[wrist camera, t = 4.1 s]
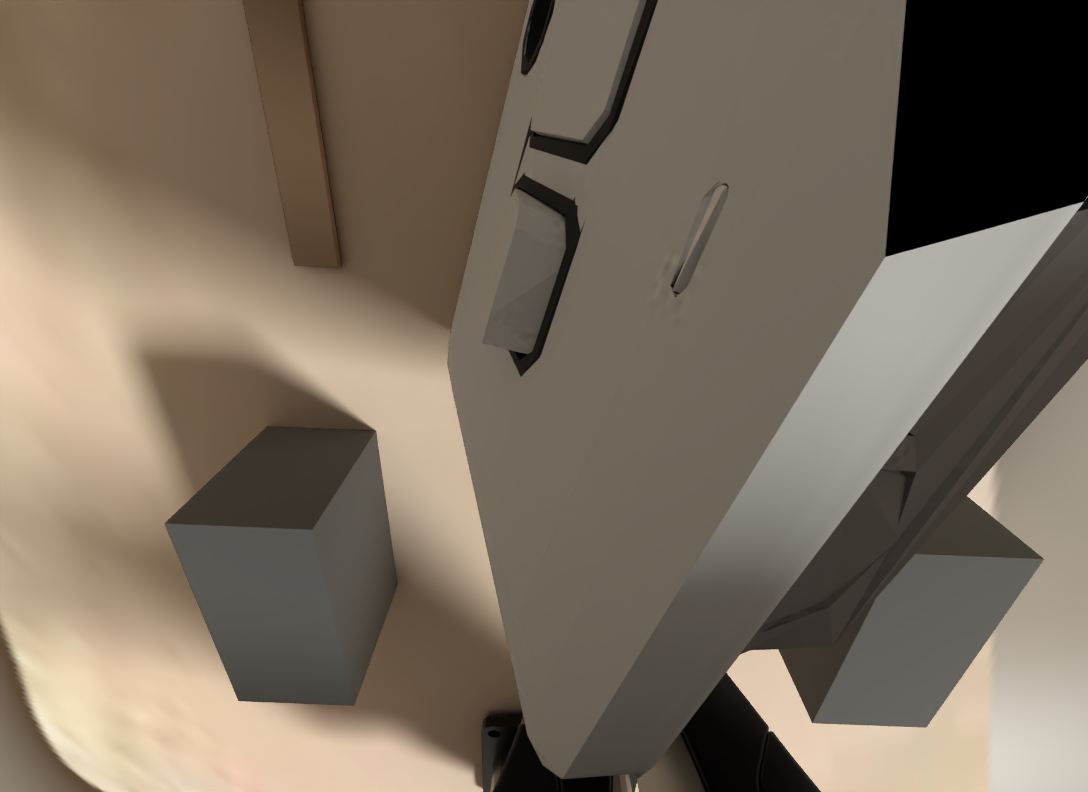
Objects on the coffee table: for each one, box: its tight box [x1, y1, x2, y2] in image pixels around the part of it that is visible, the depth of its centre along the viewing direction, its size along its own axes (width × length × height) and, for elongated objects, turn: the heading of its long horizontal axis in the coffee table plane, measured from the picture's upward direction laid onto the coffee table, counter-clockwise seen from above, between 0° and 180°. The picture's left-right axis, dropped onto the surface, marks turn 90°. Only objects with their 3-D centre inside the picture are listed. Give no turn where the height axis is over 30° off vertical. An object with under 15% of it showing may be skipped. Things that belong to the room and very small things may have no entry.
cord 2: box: [165, 426, 397, 706], centre depth 13 cm, size 6×3×4 cm, turn 178°
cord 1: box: [779, 470, 1044, 727], centre depth 13 cm, size 6×3×4 cm, turn 178°
